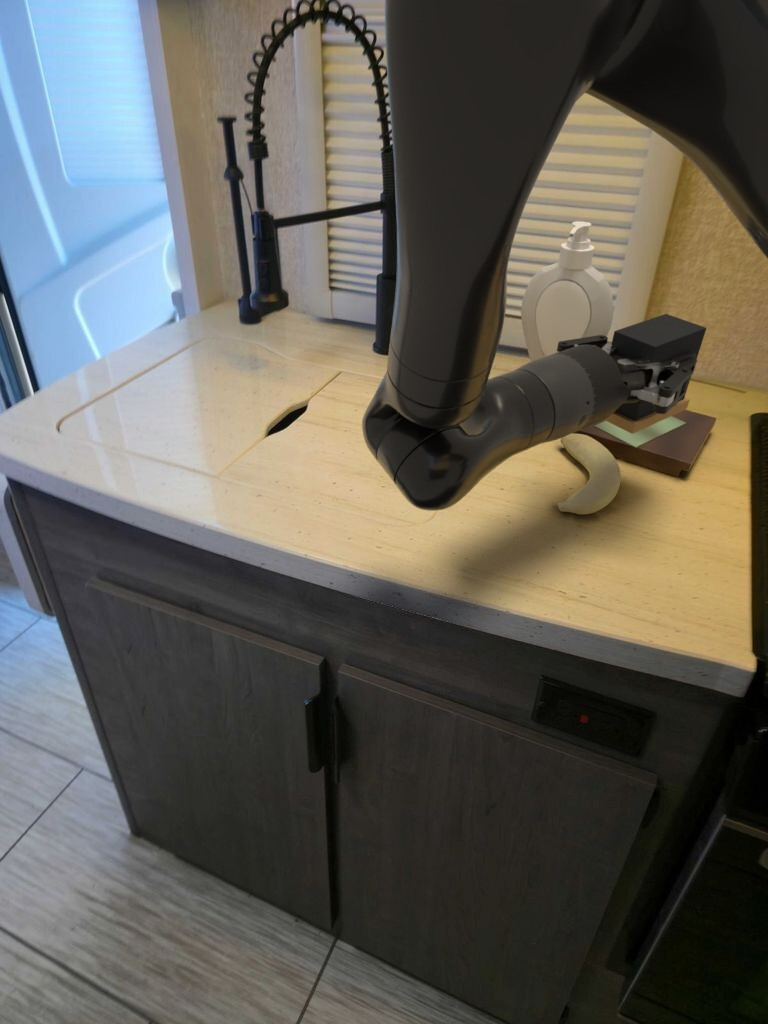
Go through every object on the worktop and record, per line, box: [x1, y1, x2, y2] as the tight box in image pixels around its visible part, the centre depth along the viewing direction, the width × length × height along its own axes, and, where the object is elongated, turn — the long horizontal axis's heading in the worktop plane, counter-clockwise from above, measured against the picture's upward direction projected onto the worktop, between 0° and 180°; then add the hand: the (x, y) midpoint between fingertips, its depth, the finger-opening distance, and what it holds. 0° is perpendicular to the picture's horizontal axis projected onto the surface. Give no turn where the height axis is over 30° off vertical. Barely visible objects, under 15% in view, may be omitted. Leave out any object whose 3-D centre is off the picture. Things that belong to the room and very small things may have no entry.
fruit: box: [557, 433, 622, 516], centre depth 81 cm, size 7×15×3 cm, turn 167°
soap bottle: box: [520, 220, 614, 362], centre depth 93 cm, size 13×8×24 cm, turn 63°
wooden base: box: [573, 409, 717, 478], centre depth 90 cm, size 16×14×3 cm
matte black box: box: [604, 313, 707, 434], centre depth 69 cm, size 10×6×9 cm, turn 126°
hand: (667, 353), depth 70 cm, fingers closed on matte black box, 5 cm apart
